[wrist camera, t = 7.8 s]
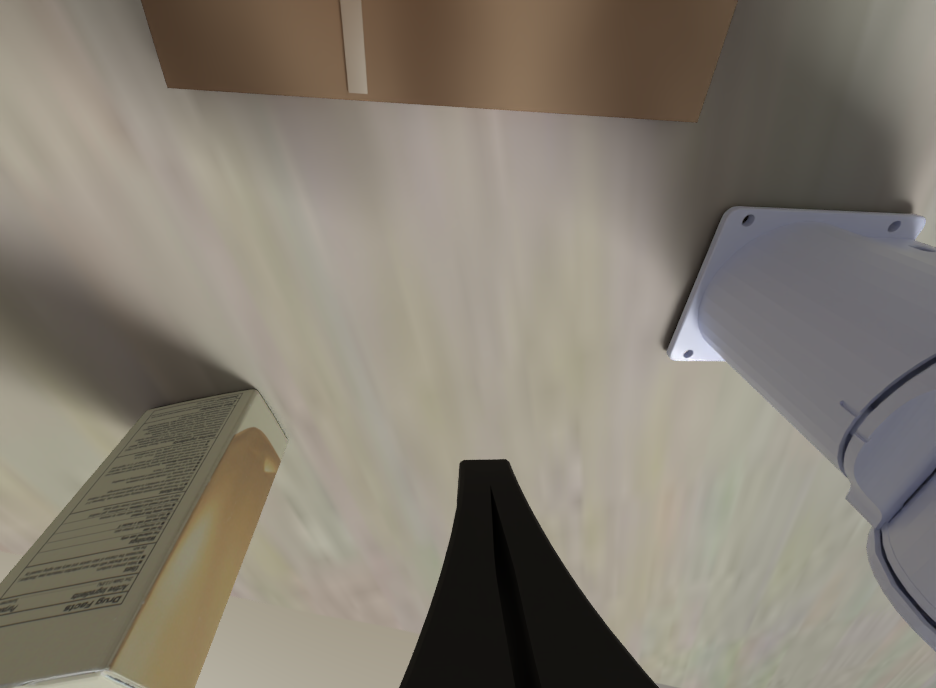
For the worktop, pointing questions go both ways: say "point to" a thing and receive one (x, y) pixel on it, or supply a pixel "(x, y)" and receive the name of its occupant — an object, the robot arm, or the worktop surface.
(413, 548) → the worktop surface
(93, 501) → the skincare box
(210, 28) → the pipe rig
